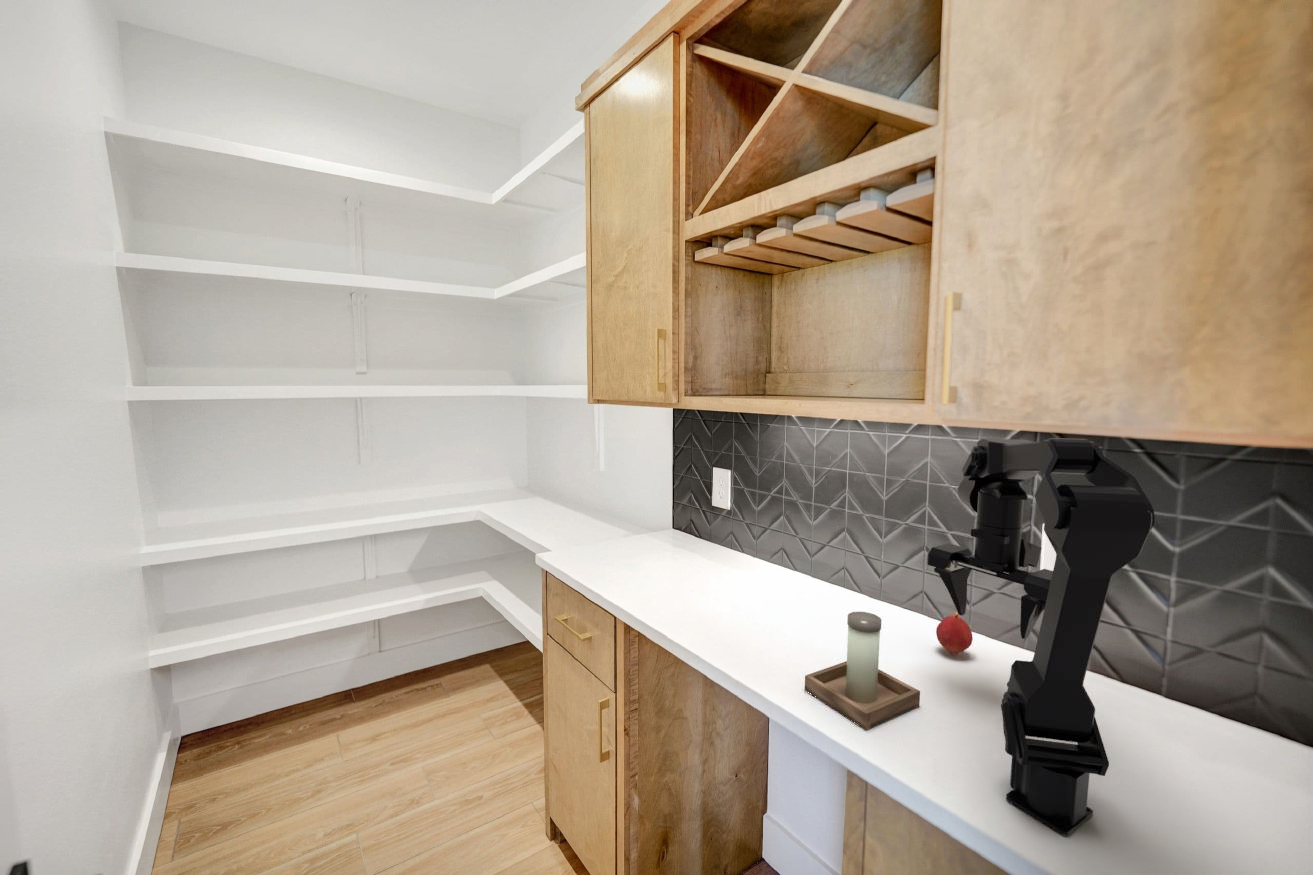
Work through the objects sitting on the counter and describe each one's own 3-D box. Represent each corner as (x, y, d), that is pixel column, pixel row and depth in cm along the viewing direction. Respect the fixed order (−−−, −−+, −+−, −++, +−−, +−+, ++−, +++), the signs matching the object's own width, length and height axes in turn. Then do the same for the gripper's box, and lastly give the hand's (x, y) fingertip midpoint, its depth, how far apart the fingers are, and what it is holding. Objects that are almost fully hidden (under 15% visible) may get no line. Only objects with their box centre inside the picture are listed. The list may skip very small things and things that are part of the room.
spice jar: (883, 694, 88) (886, 617, 87) (869, 707, 85) (873, 627, 83) (853, 682, 91) (856, 608, 90) (839, 694, 88) (842, 618, 87)
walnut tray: (919, 706, 86) (920, 691, 86) (866, 730, 80) (866, 713, 80) (855, 671, 96) (856, 657, 96) (804, 690, 90) (805, 675, 90)
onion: (928, 649, 104) (930, 608, 104) (951, 644, 106) (953, 604, 106) (954, 664, 99) (957, 620, 98) (978, 658, 101) (981, 616, 100)
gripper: (1099, 531, 79) (1089, 638, 80) (968, 505, 95) (962, 594, 96) (1059, 543, 73) (1050, 657, 75) (927, 513, 89) (922, 608, 91)
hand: (991, 625), depth 84 cm, fingers open, 9 cm apart
